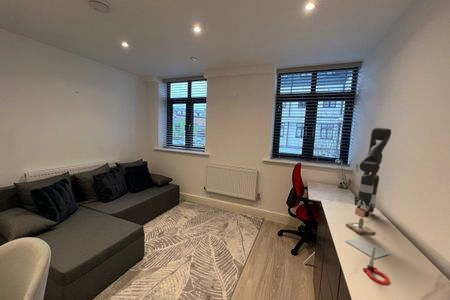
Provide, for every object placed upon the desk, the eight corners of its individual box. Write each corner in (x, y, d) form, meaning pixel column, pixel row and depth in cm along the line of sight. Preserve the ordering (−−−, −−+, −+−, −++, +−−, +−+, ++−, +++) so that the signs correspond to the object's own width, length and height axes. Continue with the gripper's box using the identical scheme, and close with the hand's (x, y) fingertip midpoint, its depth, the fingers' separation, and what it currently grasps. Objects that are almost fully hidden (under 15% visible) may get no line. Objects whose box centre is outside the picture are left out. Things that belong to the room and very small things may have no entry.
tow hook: (394, 285, 87) (376, 269, 96) (400, 259, 85) (381, 245, 94) (377, 286, 86) (360, 270, 95) (383, 260, 84) (365, 246, 93)
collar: (354, 213, 136) (355, 207, 135) (362, 213, 137) (363, 207, 136) (362, 217, 130) (363, 211, 129) (369, 217, 131) (370, 211, 130)
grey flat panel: (370, 236, 128) (370, 235, 127) (418, 261, 104) (419, 259, 104) (345, 241, 119) (345, 240, 119) (392, 270, 96) (392, 269, 96)
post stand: (345, 225, 139) (347, 214, 139) (360, 225, 141) (361, 214, 140) (359, 234, 128) (361, 223, 127) (375, 234, 130) (377, 222, 129)
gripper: (380, 194, 125) (376, 219, 127) (361, 187, 139) (358, 210, 141) (370, 194, 124) (366, 219, 125) (352, 187, 138) (349, 210, 140)
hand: (362, 214), depth 133 cm, fingers closed on collar, 6 cm apart
